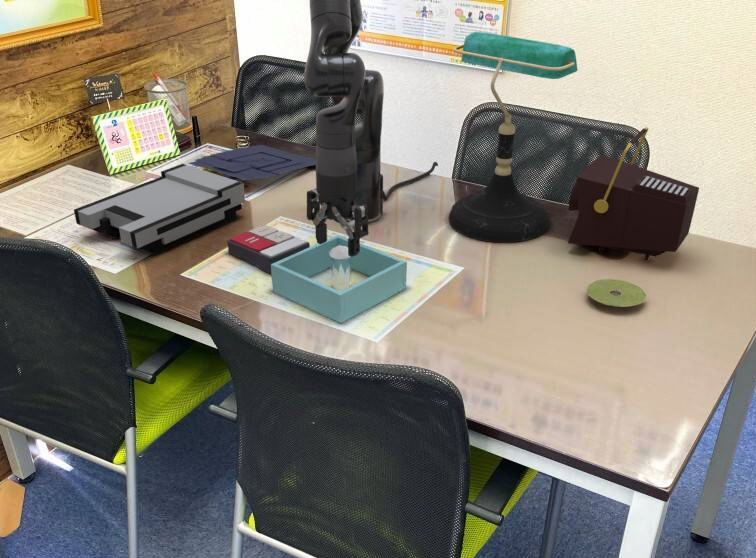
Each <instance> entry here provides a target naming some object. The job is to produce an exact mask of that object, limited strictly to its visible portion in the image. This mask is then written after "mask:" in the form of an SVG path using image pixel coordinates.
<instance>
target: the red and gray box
mask: <svg viewBox="0 0 756 558" xmlns="http://www.w3.org/2000/svg"><path fill="white" fill-rule="evenodd" d="M226 242H227V250H228V254H229V255H231V256H233V257H236V258H238V259H240V260H244V261H246V262H248V263H250V264H253V265H255V266H257V267H258V268H259V269H260V270H261V271H263V272H265V273H268V274H270V275H272V274H271V264H273V263H275V262H278V261H280V260H282V259H284V258H287V257H289V256H291V255H293V254H296V253H298V252H300V251H302V250H304V249H307V248H309V247H311V245H310V244H311V243H310V242H308V241H306V240H304V239H302V238H299V237H295V236H294V235H293V234H291V233H289V232H285V231H283V230H279V229H277V228H274V227H272V226H270V225H266V224H263V225H261V226H259V227H256V228H253V229H250V230H249V231H244V232H242V233H239V234H237V235H235V236H232V237H230V238H229V239H228V240H227V241H226Z"/></svg>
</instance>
